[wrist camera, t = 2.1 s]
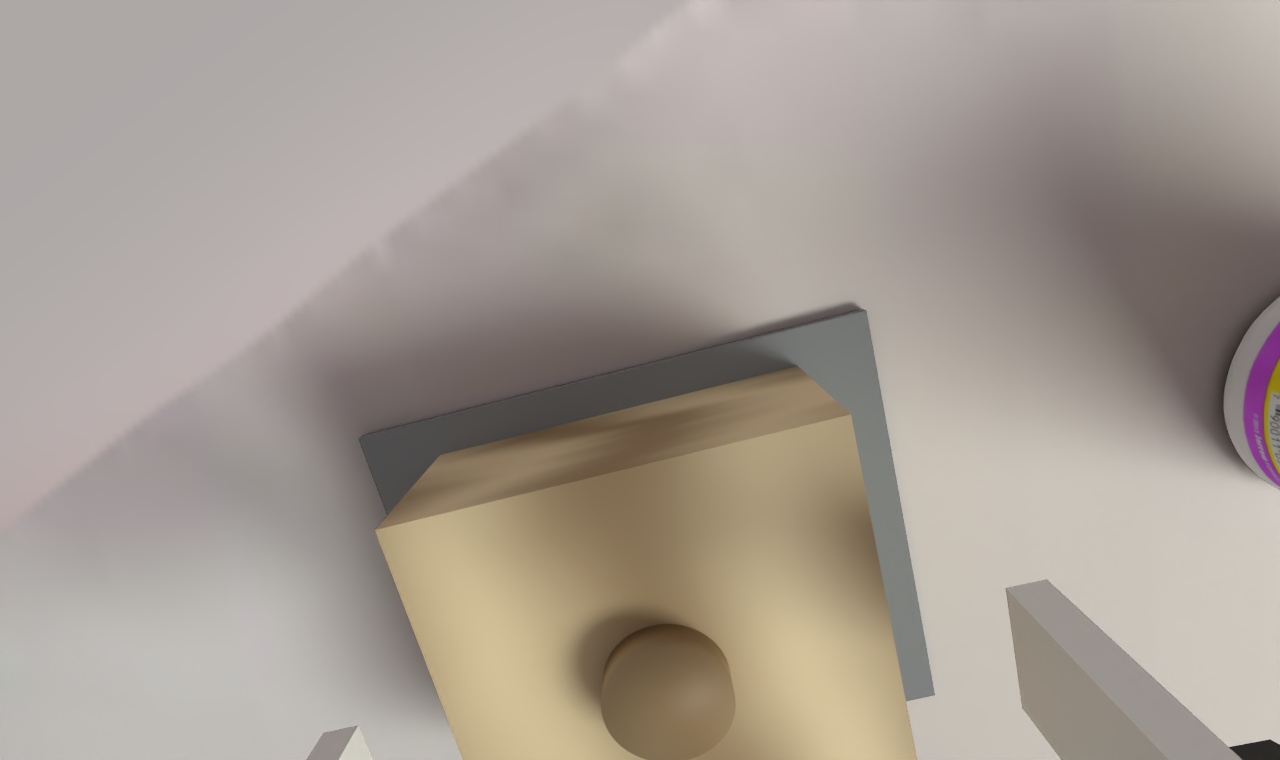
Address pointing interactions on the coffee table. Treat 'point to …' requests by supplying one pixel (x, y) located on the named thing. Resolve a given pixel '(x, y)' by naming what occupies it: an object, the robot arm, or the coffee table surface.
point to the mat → (819, 348)
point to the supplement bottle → (1257, 396)
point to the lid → (658, 585)
